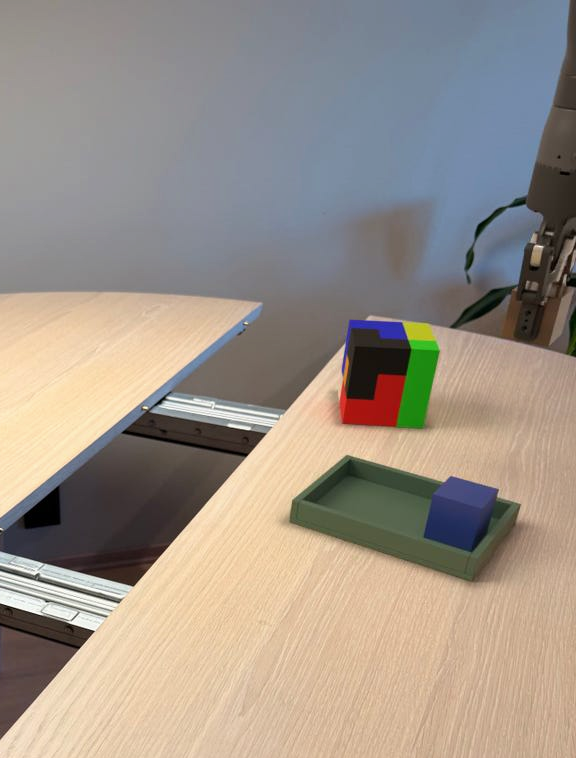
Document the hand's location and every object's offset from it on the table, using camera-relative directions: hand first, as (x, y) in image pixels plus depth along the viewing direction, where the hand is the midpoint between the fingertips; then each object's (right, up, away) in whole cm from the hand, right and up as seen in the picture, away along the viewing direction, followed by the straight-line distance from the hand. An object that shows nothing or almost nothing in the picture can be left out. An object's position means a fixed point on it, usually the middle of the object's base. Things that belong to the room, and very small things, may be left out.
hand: (532, 331), depth 105 cm
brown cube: (0, 0, 0) cm, 0 cm away
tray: (-14, -21, -2) cm, 25 cm away
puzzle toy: (-10, -3, +23) cm, 25 cm away
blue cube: (-10, -22, -5) cm, 25 cm away
